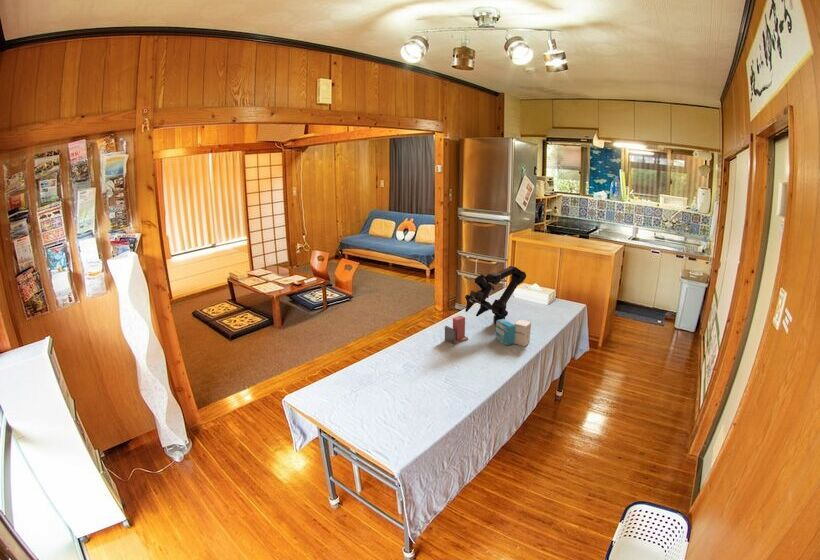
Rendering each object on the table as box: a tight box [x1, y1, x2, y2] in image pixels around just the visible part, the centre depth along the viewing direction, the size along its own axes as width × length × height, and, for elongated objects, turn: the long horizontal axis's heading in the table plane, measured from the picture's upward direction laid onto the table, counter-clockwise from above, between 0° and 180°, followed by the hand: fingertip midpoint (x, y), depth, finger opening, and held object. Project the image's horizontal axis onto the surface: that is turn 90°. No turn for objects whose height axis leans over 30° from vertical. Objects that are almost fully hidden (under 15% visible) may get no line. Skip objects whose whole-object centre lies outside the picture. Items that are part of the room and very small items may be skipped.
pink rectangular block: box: [452, 315, 466, 340], centre depth 249 cm, size 6×4×12 cm, turn 126°
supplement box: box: [513, 319, 532, 347], centre depth 243 cm, size 7×7×13 cm
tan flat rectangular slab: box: [456, 335, 469, 345], centre depth 251 cm, size 10×8×1 cm
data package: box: [495, 318, 515, 346], centre depth 245 cm, size 12×4×12 cm, turn 26°
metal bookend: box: [444, 325, 457, 346], centre depth 246 cm, size 2×8×9 cm, turn 36°
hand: (471, 313), depth 253 cm, fingers open, 9 cm apart
